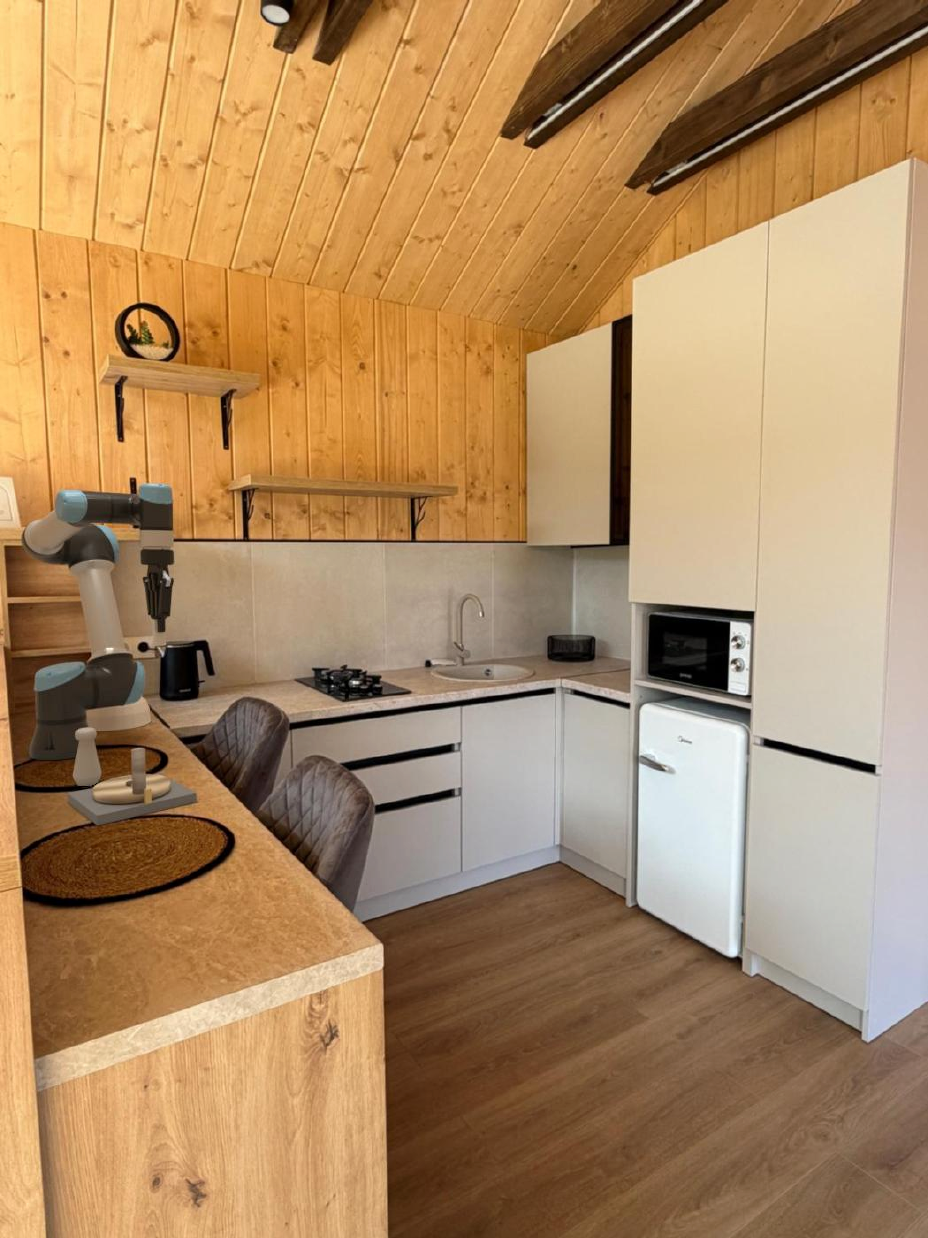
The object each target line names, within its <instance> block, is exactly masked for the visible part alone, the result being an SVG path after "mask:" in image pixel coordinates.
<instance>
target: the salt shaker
mask: <svg viewBox="0 0 928 1238" xmlns="http://www.w3.org/2000/svg"><path fill="white" fill-rule="evenodd" d="M97 732H98V731H96V730H95V729H94V728H89V727H87V728H81V729H78V730H77V731H76V733H75V738H76V739H77V740H79V744H78V749H77V755H76V757H75V761H74V767H73V773H72V778H73V779H74V782H75V783H76V785H77V787H78V786H89V787H93V786H92V785H94V786H95V784H96V783H97V784H99V783H100V782H99V781H100V778H101V776H102V773H103V772H102V768H101V765H100V759H99V756H98V751H97V747H96V746H97V745H96V742H94V740H95V739H96V738H97V735H98V733H97ZM97 784H96V785H97Z"/></svg>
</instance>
